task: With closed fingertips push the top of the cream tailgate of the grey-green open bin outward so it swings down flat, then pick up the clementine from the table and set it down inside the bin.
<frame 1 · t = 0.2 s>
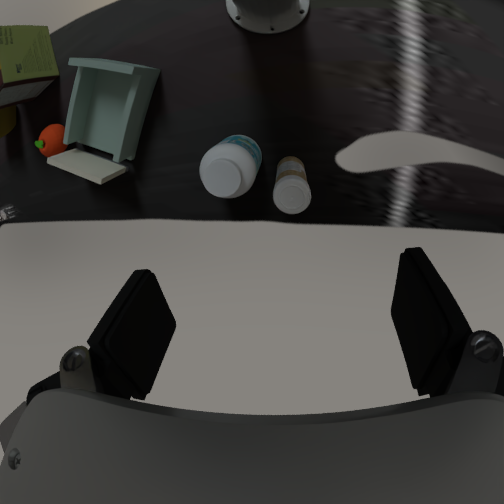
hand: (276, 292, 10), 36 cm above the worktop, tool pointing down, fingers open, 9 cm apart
protein box: (39, 62, 33), on the worktop
flower pot: (12, 115, 40), on the worktop
grey-green open bin: (115, 109, 40), on the worktop
clementine: (63, 136, 43), on the worktop
sprinkles bottle: (290, 168, 43), on the worktop
tailgate: (87, 163, 40), point 6 cm above the worktop, hinge at -4.0°
pill bottle: (239, 155, 43), on the worktop
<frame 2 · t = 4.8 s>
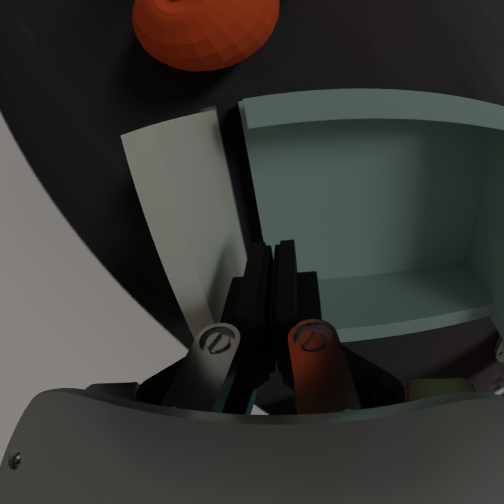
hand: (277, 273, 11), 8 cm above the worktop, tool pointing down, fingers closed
grey-green open bin: (380, 194, 16), on the worktop
clementine: (219, 19, 12), on the worktop
tailgate: (220, 253, 13), point 6 cm above the worktop, hinge at -2.9°, touching gripper
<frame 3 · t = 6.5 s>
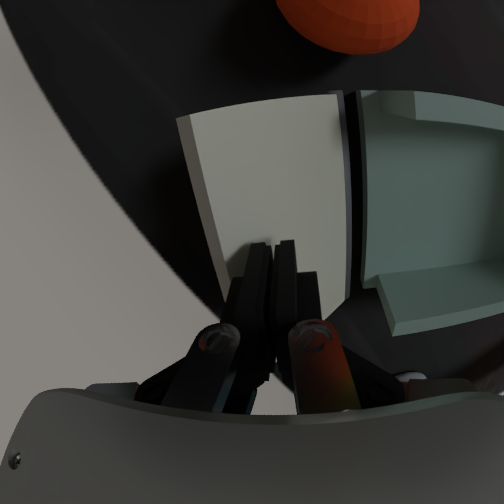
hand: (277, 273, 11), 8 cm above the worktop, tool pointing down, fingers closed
grey-green open bin: (461, 191, 15), on the worktop
clementine: (331, 6, 10), on the worktop
tailgate: (299, 235, 13), point 5 cm above the worktop, hinge at 42.9°
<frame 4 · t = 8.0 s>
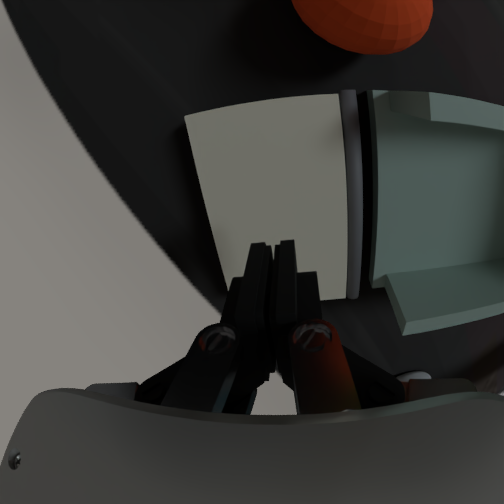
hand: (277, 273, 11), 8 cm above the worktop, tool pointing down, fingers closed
grey-green open bin: (468, 191, 15), on the worktop
clementine: (343, 5, 10), on the worktop
tailgate: (286, 212, 16), point 2 cm above the worktop, hinge at 90.3°
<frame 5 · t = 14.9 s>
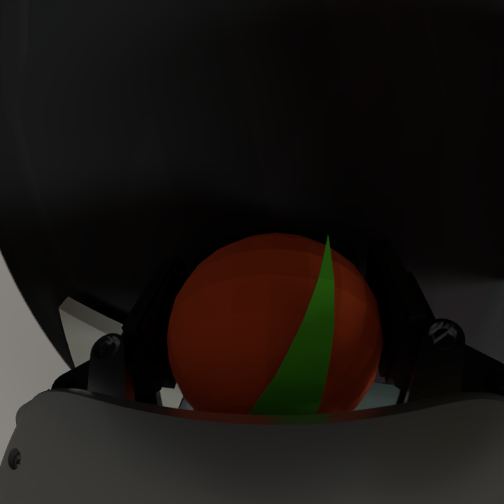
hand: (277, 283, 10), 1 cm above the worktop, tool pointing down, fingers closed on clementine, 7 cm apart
grey-green open bin: (309, 418, 19), on the worktop
clementine: (282, 264, 11), on the worktop, touching gripper
tailgate: (131, 387, 16), point 2 cm above the worktop, hinge at 90.3°
when the fingers open (4 cm above the worktop, at t = 20.0 s): clementine drops 2 cm, resting on grey-green open bin.
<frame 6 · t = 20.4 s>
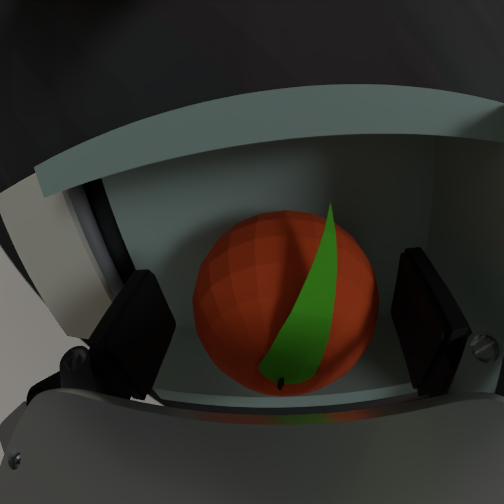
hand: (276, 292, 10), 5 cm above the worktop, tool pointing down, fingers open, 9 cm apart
grey-green open bin: (275, 232, 14), on the worktop
clementine: (290, 242, 13), point 1 cm above the worktop, touching grey-green open bin
tailgate: (64, 267, 15), point 2 cm above the worktop, hinge at 90.3°
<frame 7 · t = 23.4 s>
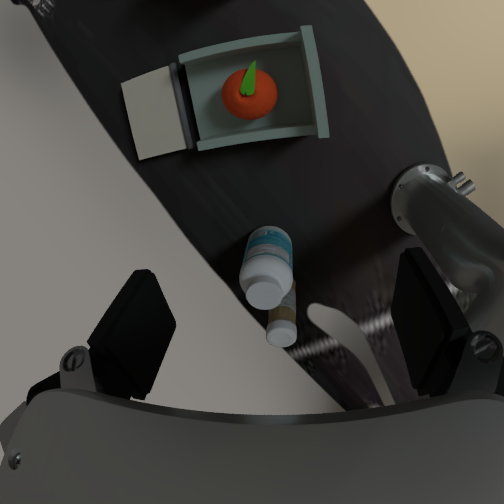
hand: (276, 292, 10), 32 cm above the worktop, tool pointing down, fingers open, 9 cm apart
grey-green open bin: (249, 91, 34), on the worktop
clementine: (253, 90, 33), point 1 cm above the worktop, touching grey-green open bin
sprinkles bottle: (283, 282, 50), on the worktop
tailgate: (156, 112, 35), point 2 cm above the worktop, hinge at 90.3°
pill bottle: (270, 243, 46), on the worktop
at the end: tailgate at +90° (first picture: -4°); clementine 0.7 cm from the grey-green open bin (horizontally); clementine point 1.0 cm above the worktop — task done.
